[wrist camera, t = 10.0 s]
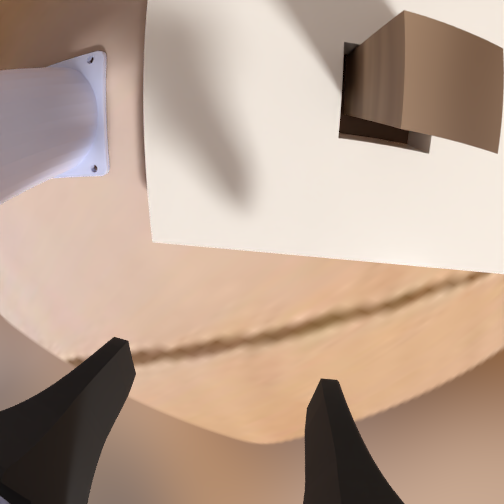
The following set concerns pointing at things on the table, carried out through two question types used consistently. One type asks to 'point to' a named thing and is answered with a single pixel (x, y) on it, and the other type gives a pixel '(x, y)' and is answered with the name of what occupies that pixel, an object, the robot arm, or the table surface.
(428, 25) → the walnut peg
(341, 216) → the socket base
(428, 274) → the table surface
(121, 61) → the table surface
